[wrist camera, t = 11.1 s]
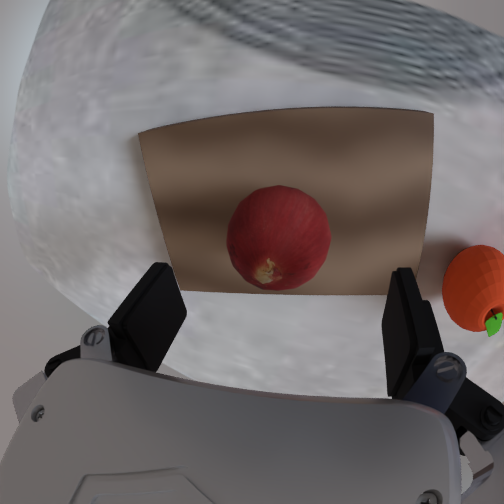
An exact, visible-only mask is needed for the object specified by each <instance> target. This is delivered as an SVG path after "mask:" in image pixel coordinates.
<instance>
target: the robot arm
mask: <svg viewBox="0 0 504 504" xmlns="http://www.w3.org/2000/svg"><path fill="white" fill-rule="evenodd" d="M186 315H187V310H186V307H185V304H184V302H183V299H182V296H181V293H180V290H179V287H178V285H177V282H176V279H175V276H174V273H173V270H172V267H171V266H169V265H168V264H167V263H162V262H155V263H154V264H153V265H152V266H151V267H150V268H149V269H148V271H147V272H146V273H145V274H144V276H143V277H142V278H141V279H140V281H139V282H138V283H137V284H136V286H135V287H134V288H133V289H132V291H131V292H130V293H129V294H128V296H127V297H126V298H125V300H124V301H123V302H122V303H121V305H120V306H119V307H118V309H117V310H116V311H115V313H114V314H113V315H112V317H111V318H110V319H109V321H108V324H109V327H108V329H107V328H106V327H105V326H103V325H97V326H94V327H91V328H90V329H88V330H87V331H86V332H85V333H84V334H83V335H82V337H81V343H80V345H79V346H77V347H75V348H73V349H70V350H68V351H65V352H63V353H61V354H58V355H56V356H54V357H53V358H51V359H50V360H49V361H48V363H47V364H46V366H45V372H43V371H41V372H39V373H38V374H37V375H35V376H34V377H32V378H31V379H30V380H28V381H27V382H26V383H24V384H23V385H22V386H20V387H19V388H18V389H17V390H16V391H15V393H14V395H13V404H14V407H15V411H16V414H17V418H18V421H19V426H18V427H17V429H16V431H15V433H14V435H13V437H12V439H11V441H10V443H9V446H8V448H7V450H6V452H5V454H4V456H3V458H2V461H1V463H0V504H504V405H503V404H502V403H501V402H500V401H498V400H497V399H496V398H494V397H493V396H492V395H490V394H489V393H487V392H486V391H485V390H483V389H482V388H480V387H479V386H478V385H476V384H475V383H473V382H472V381H470V380H469V379H468V378H466V374H467V369H466V365H465V363H464V361H463V360H462V359H461V358H460V357H459V356H458V355H456V354H454V353H450V352H444V349H443V345H442V341H441V338H440V334H439V330H438V327H437V324H436V320H435V317H434V314H433V311H432V307H431V304H430V302H429V301H428V300H422V298H421V294H420V291H419V288H418V285H417V282H416V279H415V276H414V274H413V271H412V268H411V267H398V268H397V270H396V271H392V274H391V280H390V285H389V290H388V295H387V300H386V305H385V309H384V314H383V318H382V335H383V344H384V354H385V365H386V378H387V394H388V397H390V396H392V399H384V398H348V397H325V396H307V395H293V394H282V393H272V392H263V391H255V390H247V389H240V388H233V387H226V386H220V385H214V384H209V383H203V382H198V381H193V380H188V379H183V378H178V377H173V376H168V375H164V374H160V373H156V371H157V370H158V368H159V366H160V365H161V363H162V361H163V359H164V357H165V355H166V353H167V351H168V350H169V348H170V346H171V344H172V342H173V340H174V338H175V337H176V335H177V333H178V331H179V329H180V327H181V325H182V324H183V322H184V320H185V318H186ZM460 455H463V456H466V457H467V458H468V460H469V461H470V463H469V464H468V465H469V466H470V468H471V470H472V472H473V481H472V483H471V486H470V487H469V488H468V489H467V490H466V491H465V492H464V493H463V494H461V461H460ZM422 493H423V494H422ZM429 499H430V501H429Z"/></svg>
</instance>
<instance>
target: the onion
mask: <svg viewBox="0 0 504 504" xmlns="http://www.w3.org/2000/svg"><path fill="white" fill-rule="evenodd" d="M331 238H332V236H331V232H330V228H329V224H328V220H327V215H326V213H325V212H324V210H323V209H322V208H321V206H320V205H319V204H318V202H317V201H316V200H315V199H314V198H312V197H311V196H309V195H308V194H306V193H304V192H303V191H301V190H299V189H297V188H292V187H287V186H282V185H276V186H270V187H265V188H260V189H257V190H255V191H254V192H252V193H251V194H250V195H248V196H247V197H246V198H244V199H243V200H242V201H241V202H239V204H238V206H237V208H236V210H235V212H234V213H233V215H232V217H231V219H230V221H229V224H228V230H227V239H226V246H227V250H228V253H229V256H230V260H231V263H232V265H233V267H234V268H235V269H236V271H237V272H238V273H239V274H240V275H241V276H242V277H243V279H244V280H245V281H246V282H248V283H250V284H252V285H254V286H256V287H258V288H260V289H262V290H275V291H280V290H288V289H294V288H297V287H299V286H301V285H303V284H304V283H306V282H308V281H309V280H311V279H312V278H314V276H315V275H316V273H317V272H318V271H319V269H320V268H321V266H322V265H323V263H324V262H325V260H326V258H327V254H328V250H329V246H330V242H331Z"/></svg>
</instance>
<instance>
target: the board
mask: <svg viewBox="0 0 504 504" xmlns="http://www.w3.org/2000/svg"><path fill="white" fill-rule="evenodd" d="M138 136H139V140H140V145H141V150H142V154H143V159H144V163H145V167H146V172H147V176H148V180H149V184H150V188H151V192H152V196H153V200H154V204H155V207H156V211H157V215H158V218H159V222H160V226H161V229H162V233H163V236H164V240H165V243H166V246H167V250H168V253H169V256H170V260H171V263H172V266H173V269H174V272H175V275H176V279H177V282H178V285H179V288H180V290H184V291H202V292H223V293H248V294H283V295H388V290H389V285H390V280H391V274H392V271H396V270H397V268H398V267H411V268H412V271H413V274H414V276H415V279H416V277H417V272H418V268H419V263H420V258H421V253H422V247H423V242H424V236H425V230H426V223H427V216H428V208H429V200H430V190H431V179H432V165H433V142H434V114H433V113H429V112H425V111H419V110H408V109H396V108H379V107H304V108H286V109H273V110H262V111H253V112H244V113H236V114H228V115H221V116H215V117H209V118H203V119H197V120H191V121H186V122H181V123H176V124H171V125H166V126H162V127H157V128H153V129H150V130H147V131H144V132H141V133H138ZM276 185H282V186H287V187H292V188H297V189H299V190H301V191H303V192H304V193H306V194H308V195H309V196H311V197H312V198H314V199H315V200H316V201H317V202H318V204H319V205H320V206H321V208H322V209H323V210H324V212H325V213H326V215H327V220H328V224H329V228H330V232H331V236H332V238H331V242H330V246H329V250H328V254H327V258H326V260H325V262H324V263H323V265H322V266H321V268H320V269H319V271H318V272H317V273H316V275H315V276H314V278H312V279H311V280H309V281H308V282H306V283H304V284H303V285H301V286H299V287H297V288H294V289H288V290H280V291H275V290H262V289H260V288H258V287H256V286H254V285H252V284H250V283H248V282H246V281H245V280H244V279H243V277H242V276H241V275H240V274H239V273H238V272H237V271H236V269H235V268H234V267H233V265H232V263H231V260H230V256H229V253H228V250H227V246H226V239H227V230H228V224H229V221H230V219H231V217H232V215H233V213H234V212H235V210H236V208H237V206H238V204H239V202H241V201H242V200H243V199H244V198H246V197H247V196H248V195H250V194H251V193H252V192H254V191H255V190H257V189H260V188H265V187H270V186H276Z"/></svg>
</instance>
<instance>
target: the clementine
mask: <svg viewBox="0 0 504 504" xmlns="http://www.w3.org/2000/svg"><path fill="white" fill-rule="evenodd" d="M442 295H443V302H444V306H445V308H446V310H447V313H448V314H449V316H450V317H451V319H452V320H453V321H454V322H455V323H456V324H457V325H459V326H460V327H461V328H463V329H466V330H469V331H473V332H481V331H485V330H487V333H488V336H489V337H490V336H492V335H494V334H495V333H497V332H498V331H499V329H500V327H501V323H502V320H503V319H504V255H503V254H502V253H501V252H500V251H498V250H497V249H495V248H493V247H490V246H485V245H476V246H472V247H469V248H467V249H464V250H463V251H461V252H460V253H459V254H458V255H457V256H456V257H455V258H454V259H453V260H452V262H451V263H450V265H449V266H448V268H447V270H446V273H445V275H444V279H443V287H442Z"/></svg>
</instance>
